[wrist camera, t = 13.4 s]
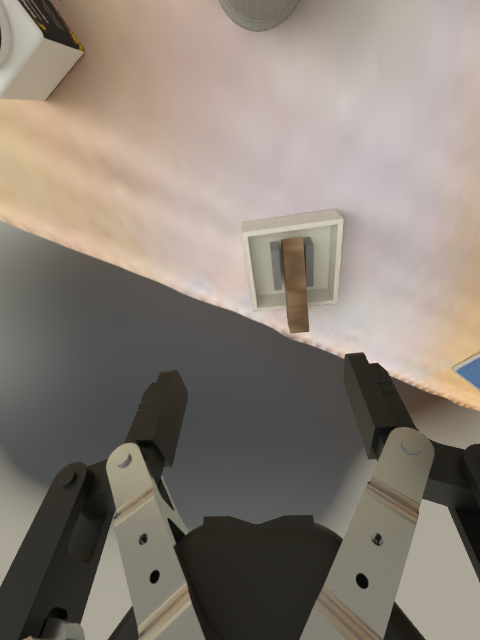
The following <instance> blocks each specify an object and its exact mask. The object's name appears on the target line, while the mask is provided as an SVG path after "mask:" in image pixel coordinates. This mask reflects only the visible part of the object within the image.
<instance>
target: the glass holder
mask: <svg viewBox="0 0 480 640" xmlns="http://www.w3.org/2000/svg"><path fill="white" fill-rule="evenodd" d="M219 2H220V4H221V6H222V8H223V9H224V11H225V12H226V14H227V15H228V16H229V17H230V18H231V19H232V20H233V21H234V22H235V23H236V24H238V25H239V26H240V27H242V28H244V29H247V30H250V31H257V32H259V31H266V30H269V29H271V28H274V27H276V26H277V25H279V24H280V23H282V22H283V21H284V20H285V19H286V18H287V17H288V16H289V15H290V14H291V12H292V11H293V10H294V8H295V7H296V6H297V4H298V2H299V0H219Z"/></svg>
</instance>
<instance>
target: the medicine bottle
mask: <svg viewBox="0 0 480 640" xmlns="http://www.w3.org/2000/svg"><path fill="white" fill-rule="evenodd" d="M83 53H84V49H83V47H82V46H81V44H80V43H79V42H78V40H77V39H76V37H75V36H74V35H73V33H72V32H71V30H70V29H69V28H68V26H67V25H66V23H65V22H64V21H63V19H62V18H61V16H60V15H59V14H58V12H57V11H56V9H55V8H54V7H53V5H52V4H51V2H50V1H49V0H0V99H19V100H38V101H44V100H46V98H47V97H48V96H49V95H50V94H51V92H52V91H53V90H54V89H55V87H56V86H57V85H58V84H59V83H60V81H61V80H62V79H63V78H64V77H65V75H66V74H67V73H68V72H69V70H70V69H71V68H72V67H73V66H74V64H75V63H76V62H77V61H78V59H79V58H80V57H81V56H82V55H83Z"/></svg>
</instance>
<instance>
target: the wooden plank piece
mask: <svg viewBox="0 0 480 640" xmlns="http://www.w3.org/2000/svg"><path fill="white" fill-rule="evenodd" d="M281 247H282V259H283V271H284V283H285V294H286V306H287V318H288V326H289V329H290V333H300V332H309V321H308V306H307V290H306V274H305V259H304V243H303V237H297V238H289V239H282V240H281Z"/></svg>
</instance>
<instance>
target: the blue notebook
mask: <svg viewBox="0 0 480 640" xmlns="http://www.w3.org/2000/svg"><path fill="white" fill-rule="evenodd" d="M452 370H453V371H454V372H455V373H456V374H458V375H459V376H460V377H462V378H463V379H464V380H466V381H467V382H468V383H470V384H471V385H472V386H474V387H475V388H476V389H478V390H479V391H480V353H478V354H476V355H474V356H472V357H471V358H469V359H467V360H465V361H463V362H461V363H459V364H458V365H456V366H454V367H453V368H452Z"/></svg>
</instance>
